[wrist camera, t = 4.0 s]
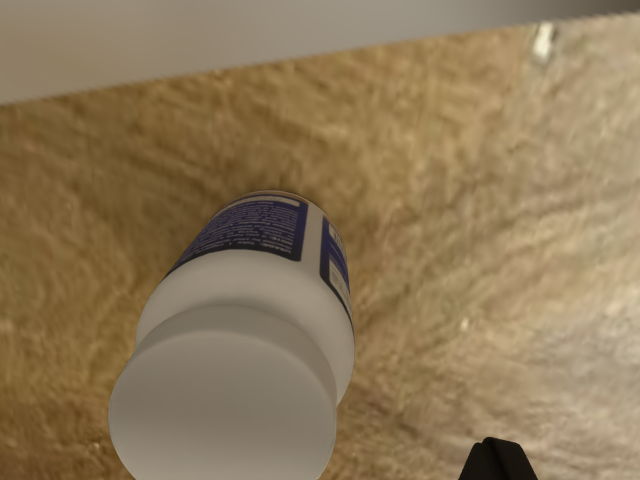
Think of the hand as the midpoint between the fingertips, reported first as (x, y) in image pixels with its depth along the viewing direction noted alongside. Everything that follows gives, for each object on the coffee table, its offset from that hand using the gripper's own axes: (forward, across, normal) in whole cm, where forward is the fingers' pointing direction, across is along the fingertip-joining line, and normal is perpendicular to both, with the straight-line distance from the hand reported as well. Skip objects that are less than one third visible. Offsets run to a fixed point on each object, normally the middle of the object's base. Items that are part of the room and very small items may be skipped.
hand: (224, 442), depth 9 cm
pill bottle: (+11, 0, 0) cm, 11 cm away
